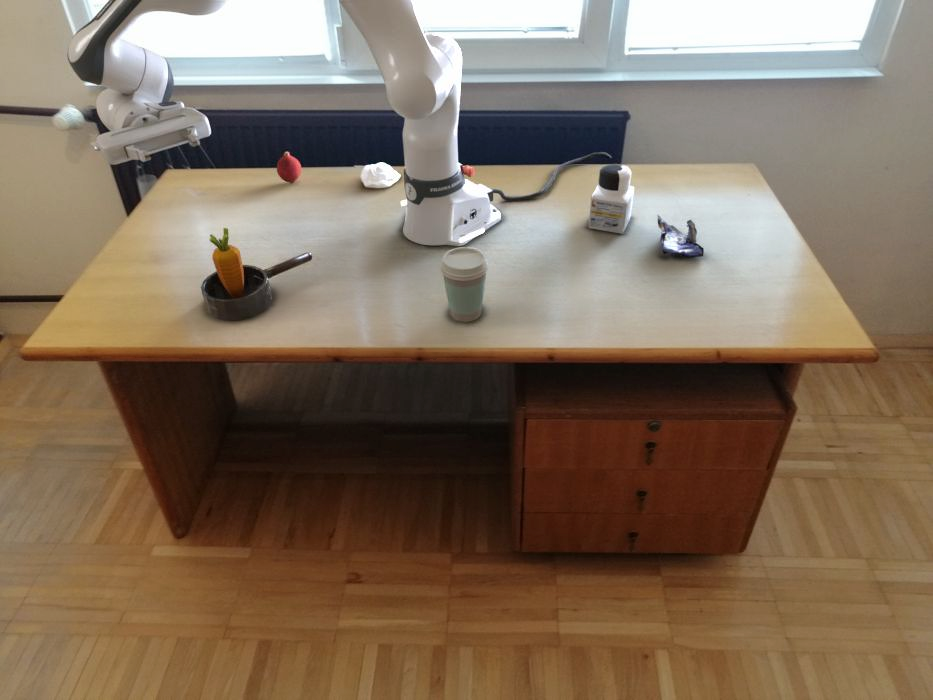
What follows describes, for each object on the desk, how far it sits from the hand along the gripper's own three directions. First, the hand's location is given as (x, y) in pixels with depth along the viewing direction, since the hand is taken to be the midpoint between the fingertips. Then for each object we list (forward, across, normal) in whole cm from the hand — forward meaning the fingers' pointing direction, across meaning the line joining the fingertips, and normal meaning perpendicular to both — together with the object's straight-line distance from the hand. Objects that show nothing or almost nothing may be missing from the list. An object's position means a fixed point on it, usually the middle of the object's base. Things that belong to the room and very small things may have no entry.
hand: (171, 149), depth 131 cm
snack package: (+59, +78, +27) cm, 101 cm away
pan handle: (+15, +11, +24) cm, 30 cm away
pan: (+15, 0, +26) cm, 30 cm away
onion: (-23, +33, +26) cm, 48 cm away
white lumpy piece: (-9, +50, +27) cm, 57 cm away
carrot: (+15, 0, +26) cm, 30 cm away
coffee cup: (+47, +30, +27) cm, 61 cm away
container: (+43, +75, +27) cm, 90 cm away
